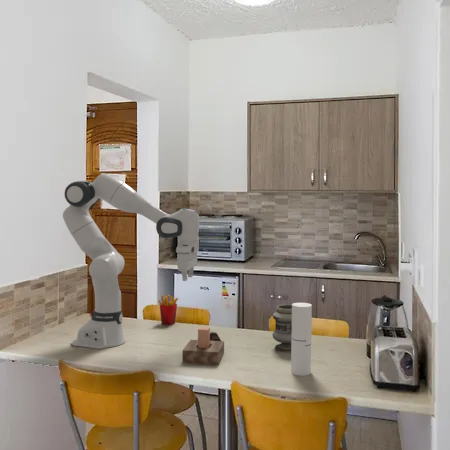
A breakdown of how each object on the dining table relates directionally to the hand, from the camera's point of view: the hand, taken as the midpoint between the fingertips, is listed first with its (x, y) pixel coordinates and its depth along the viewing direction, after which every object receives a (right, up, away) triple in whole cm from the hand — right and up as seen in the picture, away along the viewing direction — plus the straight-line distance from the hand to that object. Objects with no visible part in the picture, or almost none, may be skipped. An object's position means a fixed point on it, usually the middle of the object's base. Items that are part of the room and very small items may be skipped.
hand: (187, 278), depth 211 cm
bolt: (+12, -29, +2) cm, 31 cm away
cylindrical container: (+44, -31, -30) cm, 62 cm away
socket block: (+8, -30, -16) cm, 34 cm away
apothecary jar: (+42, -29, -3) cm, 51 cm away
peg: (+8, -30, -16) cm, 34 cm away
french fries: (-12, -27, +34) cm, 45 cm away
